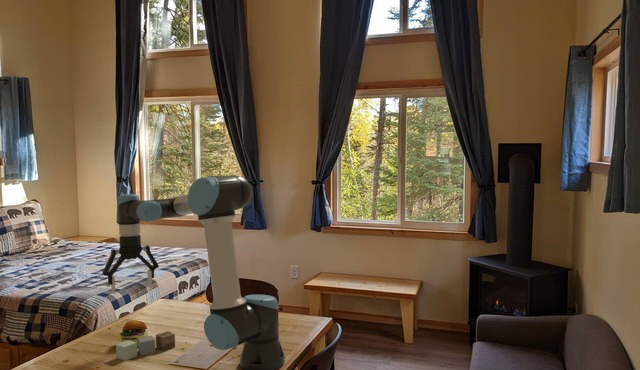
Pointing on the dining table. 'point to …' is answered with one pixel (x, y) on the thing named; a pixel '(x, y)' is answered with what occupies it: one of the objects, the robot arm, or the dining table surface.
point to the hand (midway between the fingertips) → (132, 289)
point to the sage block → (126, 350)
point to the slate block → (146, 345)
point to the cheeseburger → (133, 331)
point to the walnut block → (165, 341)
